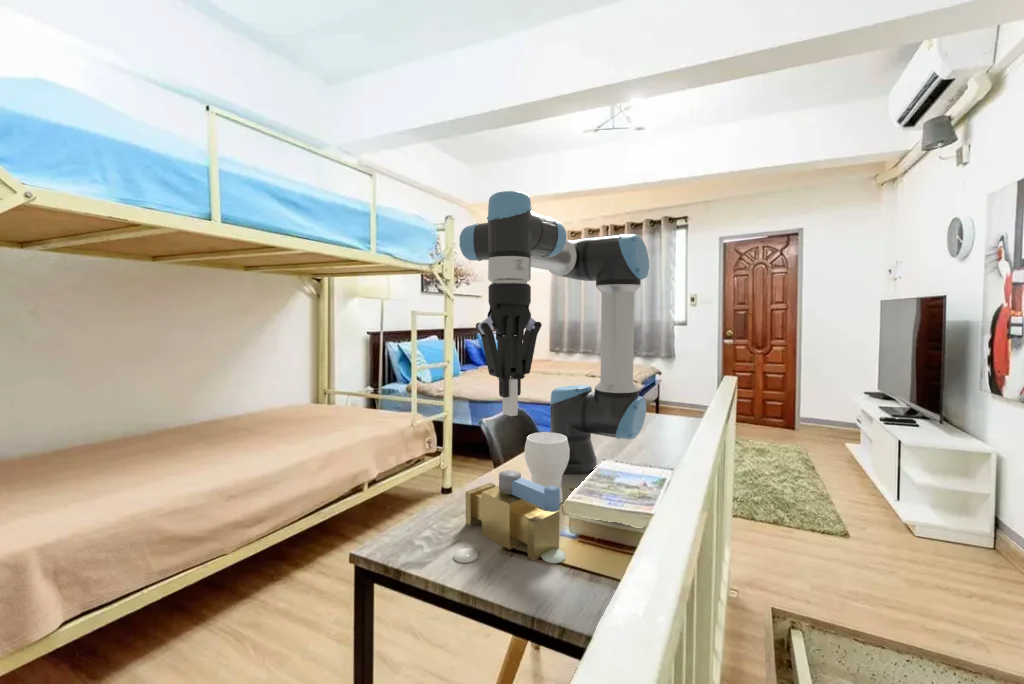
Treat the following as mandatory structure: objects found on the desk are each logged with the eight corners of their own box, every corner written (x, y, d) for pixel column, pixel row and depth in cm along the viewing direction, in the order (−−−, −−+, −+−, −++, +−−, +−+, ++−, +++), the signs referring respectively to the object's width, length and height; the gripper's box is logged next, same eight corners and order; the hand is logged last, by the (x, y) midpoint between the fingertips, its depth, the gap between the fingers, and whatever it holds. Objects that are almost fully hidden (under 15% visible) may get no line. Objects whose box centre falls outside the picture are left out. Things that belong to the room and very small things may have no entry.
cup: (567, 511, 100) (567, 445, 99) (520, 507, 102) (520, 442, 101) (570, 492, 111) (571, 432, 110) (528, 489, 113) (528, 430, 112)
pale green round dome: (551, 547, 85) (551, 546, 85) (570, 556, 82) (570, 555, 82) (536, 556, 82) (536, 554, 82) (554, 566, 78) (554, 564, 78)
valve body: (463, 524, 94) (463, 483, 93) (492, 512, 99) (492, 474, 99) (532, 561, 80) (532, 514, 79) (560, 545, 85) (561, 500, 85)
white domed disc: (467, 547, 85) (467, 545, 85) (482, 556, 82) (482, 554, 82) (448, 556, 82) (448, 554, 82) (463, 565, 79) (463, 564, 79)
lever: (494, 489, 89) (494, 472, 89) (510, 483, 92) (510, 466, 92) (549, 514, 78) (549, 494, 78) (565, 507, 81) (565, 487, 81)
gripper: (489, 280, 72) (490, 423, 74) (551, 283, 80) (551, 413, 81) (467, 283, 79) (468, 415, 80) (526, 285, 86) (526, 406, 88)
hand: (510, 414), depth 81 cm, fingers closed
